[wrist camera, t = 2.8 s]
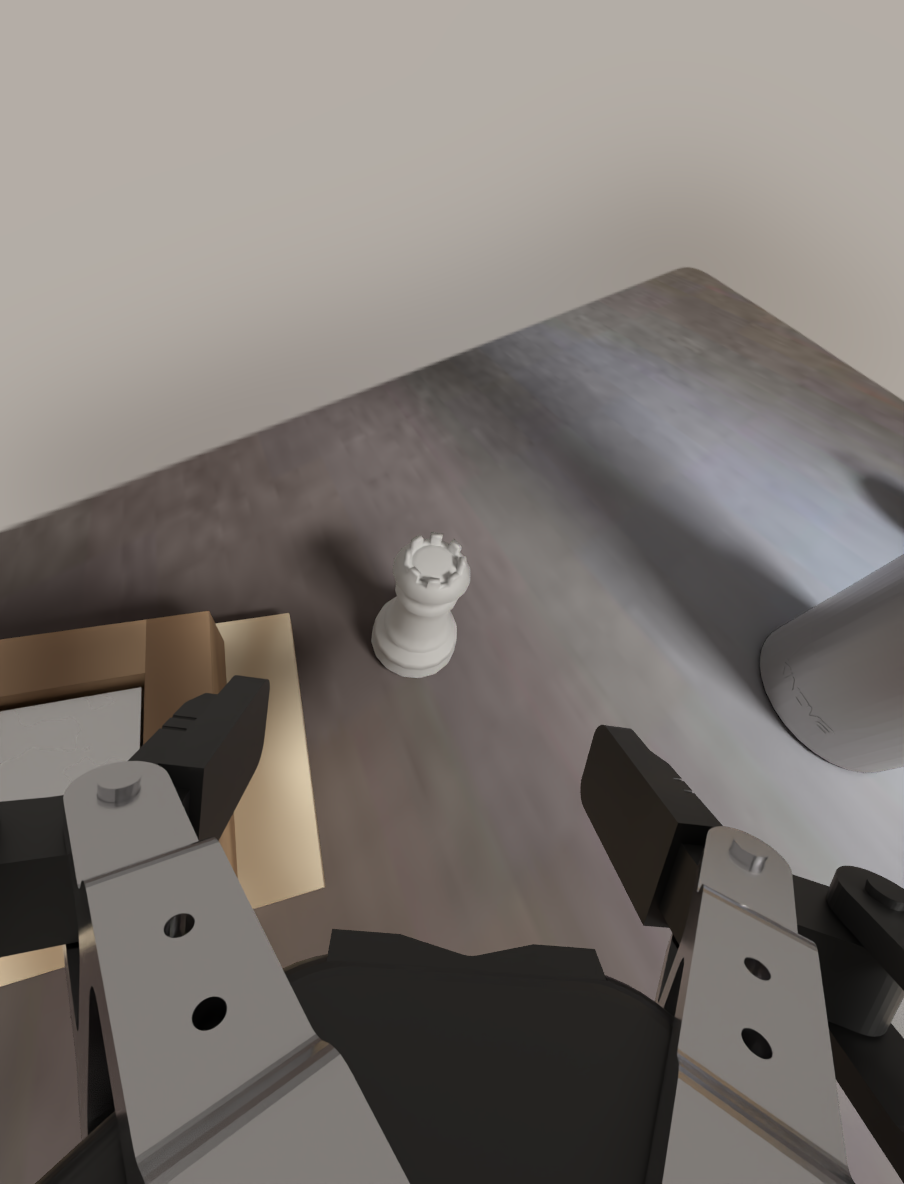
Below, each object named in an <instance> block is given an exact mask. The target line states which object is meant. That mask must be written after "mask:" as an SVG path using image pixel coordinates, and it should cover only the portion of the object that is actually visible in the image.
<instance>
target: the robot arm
mask: <svg viewBox="0 0 904 1184" xmlns="http://www.w3.org/2000/svg"><path fill="white" fill-rule="evenodd" d="M760 669H761V677H762V681H763V684H764V687H765V691H766V693H767V695H768V697H769V699H770V701H771V704H772V706H773V708H774V709H775V711H776V712H777V714H778V715H779V717H780V718H781V720H782V721H783V722H784V724H785V725H786V726H787V727H788V728H789V730H790V731H791V732H792V733H793V734H794V735H795V736H796V737H797V738H798V740H800V741H801V742H802V743H803V744H804V745H806V746H807V747H808V748H809V749H810V750H812V751H813V752H814V753H816V754H817V755H819V756H820V757H822V758H824V759H825V760H827V761H828V762H830V763H832V764H835V765H837V766H839V767H842V768H844V769H847V770H851V771H856V772H861V773H872V772H881V771H886V770H890V769H895V768H900V767H904V554H903V555H901V556H900V557H898V558H896V559H895V560H893V561H891V562H890V563H888V564H886V565H884V566H883V567H881V568H879V569H878V570H876V571H874V572H873V573H871V574H869V575H868V576H866V577H864V578H863V579H861V580H859V581H858V582H856V583H854V584H852V585H851V586H849V587H847V588H846V589H844V590H842V591H841V592H839V593H837V594H836V595H834V596H832V597H831V598H828V599H827V600H825V601H823V602H822V603H820V604H818V605H817V606H815V607H813V608H812V609H810V610H808V611H807V612H805V613H803V614H802V615H800V616H798V617H797V618H795V619H793V620H792V621H790V622H788V623H787V624H785V625H783V626H782V627H780V628H778V629H777V630H775V631H773V632H772V634H771V635H770V636H769V637H768V638H767V639H766V641H765V643H764V645H763V647H762V650H761V657H760ZM269 692H270V682H269V680H268V679H262V678H254V677H247V676H240V675H235V676H233V677H232V678H231V680H230V681H229V682H228V683H227V684H226V685H225V687H224V688H223V689H222V690H221V691H220V692H219V693H218V694H211V693H204V694H202V695H200V696H198V697H195V698H193V699H191V700H189V701H187V702H185V703H184V704H183V705H182V706H181V707H180V708H179V709H178V710H177V711H176V712H175V713H174V714H173V716H172V718H169V719H168V720H167V721H166V722H165V723H164V724H163V725H162V728H159V729H158V731H157V732H156V733H155V734H154V735H153V736H152V737H151V738H150V739H149V740H148V741H147V742H146V743H145V744H144V745H143V746H142V747H141V748H140V749H139V750H138V751H137V752H136V753H135V754H134V755H133V756H132V757H131V758H130V759H129V760H128V761H124V762H116V763H111V764H107V765H103V766H100V767H97V768H95V769H92V770H90V771H88V772H86V773H84V774H82V775H81V776H79V777H78V778H76V779H75V780H74V781H73V782H72V783H71V784H70V785H69V786H68V787H67V789H66V790H65V793H64V795H60V796H53V797H44V798H33V799H23V800H12V801H2V802H0V958H1V957H6V956H10V955H15V954H20V953H25V952H30V951H35V950H40V949H45V948H50V947H55V946H60V945H63V955H64V963H65V971H66V980H67V988H68V996H69V1004H70V1013H71V1021H72V1029H73V1037H74V1045H75V1054H76V1065H77V1081H78V1102H79V1117H80V1129H81V1140H82V1141H81V1142H80V1143H79V1144H78V1145H77V1146H76V1147H75V1148H74V1149H73V1150H71V1151H70V1152H69V1153H68V1154H67V1155H66V1156H65V1157H64V1158H63V1159H62V1160H61V1161H59V1162H58V1163H57V1164H56V1165H55V1166H54V1167H53V1168H52V1169H51V1170H50V1171H48V1172H47V1173H46V1174H45V1175H44V1176H43V1177H42V1178H41V1179H40V1180H39V1181H38V1182H36V1183H35V1184H855V1183H854V1181H853V1180H852V1178H851V1175H850V1172H849V1169H848V1164H847V1158H846V1151H845V1143H844V1136H843V1129H842V1122H841V1115H840V1107H839V1100H838V1093H837V1086H836V1080H837V1082H838V1083H839V1085H840V1086H841V1088H842V1089H843V1091H844V1092H845V1094H846V1095H847V1097H848V1099H849V1100H850V1102H851V1103H852V1105H853V1106H854V1108H855V1109H856V1111H857V1112H858V1114H859V1115H860V1117H861V1119H862V1120H863V1122H864V1123H865V1125H866V1126H867V1128H868V1129H869V1131H870V1132H871V1134H872V1135H873V1137H874V1138H875V1140H876V1142H877V1143H878V1145H879V1146H880V1148H881V1149H882V1151H883V1152H884V1154H885V1155H886V1157H887V1158H888V1160H889V1162H890V1163H891V1165H892V1166H893V1168H894V1169H895V1171H896V1172H897V1174H898V1175H899V1177H900V1178H901V1180H902V1182H903V1183H904V1039H903V1037H902V1036H901V1035H900V1034H899V1032H898V1031H897V1030H896V1029H895V1028H894V1026H893V1025H892V1024H891V1021H892V1019H893V1017H894V1015H895V1013H896V1011H897V1009H898V1008H899V1006H900V1004H901V1002H902V1000H903V998H904V889H903V888H901V887H900V886H898V885H897V884H895V883H893V882H891V881H890V880H888V879H886V878H884V877H882V876H880V875H878V874H875V873H873V872H870V871H868V870H865V869H862V868H858V867H854V866H841V867H839V868H838V869H837V870H836V873H835V875H834V877H833V880H832V882H831V884H830V887H829V886H826V885H823V884H820V883H817V882H814V881H810V880H807V879H804V878H801V877H798V876H795V875H792V871H791V869H790V867H789V865H788V863H787V862H786V861H785V859H784V858H783V857H782V856H781V855H780V854H779V853H778V852H777V851H776V850H774V849H773V848H772V847H770V846H769V845H768V844H766V843H765V842H763V841H762V840H760V839H758V838H756V837H754V836H752V835H750V834H748V833H746V832H744V831H741V830H738V829H735V828H731V827H725V826H722V824H721V823H720V822H719V821H718V820H717V819H716V818H715V816H714V815H713V814H712V813H711V812H710V811H709V810H708V808H707V807H706V806H705V805H704V804H703V803H702V801H701V800H700V799H699V798H698V797H697V796H696V795H695V793H692V790H691V789H690V788H689V787H688V785H687V784H686V783H685V782H684V781H681V777H680V776H679V775H678V774H677V773H676V772H675V770H674V769H673V768H672V767H671V766H670V765H669V764H668V763H667V762H665V761H664V760H662V759H661V758H660V757H658V756H657V755H655V754H654V753H653V752H651V751H650V750H649V749H648V748H647V747H646V745H645V744H644V743H643V742H642V741H641V739H640V738H639V737H638V736H637V735H636V733H635V732H634V731H633V730H632V729H629V728H621V727H614V726H606V725H600V726H599V727H598V728H597V729H596V731H595V733H594V736H593V740H592V744H591V747H590V751H589V754H588V758H587V762H586V765H585V769H584V772H583V776H582V780H581V800H582V804H583V807H584V809H585V811H586V813H587V815H588V817H589V819H590V821H591V823H592V825H593V827H594V829H595V831H596V833H597V835H598V837H599V839H600V841H601V843H602V845H603V847H604V849H605V851H606V852H607V854H608V856H609V858H610V860H611V862H612V864H613V866H614V868H615V870H616V872H617V874H618V876H619V878H620V880H621V882H622V884H623V886H624V888H625V890H626V892H627V894H628V896H629V898H630V900H631V902H632V904H633V906H634V908H635V910H636V912H637V914H638V916H639V918H640V920H641V922H642V924H643V926H655V927H667V928H670V929H671V931H672V935H671V938H670V941H669V944H668V946H667V949H666V954H665V958H664V963H663V967H662V971H661V976H660V980H659V985H658V989H657V993H656V998H655V1002H654V1001H653V1000H651V999H650V998H649V997H647V996H646V995H644V994H643V993H641V992H639V991H637V990H636V989H634V988H632V987H630V986H629V985H627V984H625V983H622V982H620V981H618V980H616V979H613V978H611V977H608V976H605V975H604V972H603V970H602V967H601V964H600V962H599V959H598V956H597V954H596V951H595V949H586V948H573V947H560V946H547V945H534V944H533V945H528V946H523V947H518V948H513V949H508V950H503V951H498V952H493V953H488V954H483V955H478V956H466V955H462V954H459V953H456V952H453V951H450V950H447V949H444V948H441V947H438V946H434V945H431V944H428V943H425V942H422V941H419V940H416V939H413V938H410V937H407V936H404V935H401V934H391V933H378V932H365V931H352V930H338V929H332V934H331V940H330V945H329V951H328V954H326V955H321V956H316V957H312V958H309V959H306V960H302V961H299V962H296V963H294V964H292V965H289V966H287V967H285V968H283V969H282V967H281V965H280V963H279V961H278V959H277V957H276V955H275V953H274V951H273V949H272V947H271V945H270V943H269V941H268V939H267V937H266V935H265V933H264V931H263V929H262V927H261V925H260V923H259V921H258V919H257V917H256V915H255V913H254V911H253V909H252V907H251V905H250V903H249V901H248V899H247V897H246V895H245V893H244V890H243V888H242V886H241V884H240V882H239V880H238V878H237V876H236V874H235V872H234V870H233V868H232V866H231V864H230V862H229V860H228V858H227V856H226V854H225V852H224V850H223V848H222V846H221V845H220V843H219V839H220V837H221V835H222V834H223V832H224V830H225V828H226V826H227V824H228V822H229V820H230V818H231V816H232V815H233V813H234V811H235V809H236V807H237V805H238V803H239V801H240V799H241V797H242V795H243V794H244V792H245V790H246V788H247V786H248V784H249V782H250V780H251V778H252V776H253V775H254V773H255V771H256V769H257V766H258V764H259V761H260V758H261V754H262V750H263V745H264V738H265V729H266V720H267V711H268V701H269Z"/></svg>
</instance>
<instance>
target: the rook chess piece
mask: <svg viewBox="0 0 904 1184" xmlns="http://www.w3.org/2000/svg"><path fill="white" fill-rule="evenodd" d="M442 536H443V534H441V533H434V532H431V536H430V539H423V538H422V536H421V535H418V536H416V537H415V538H413V539H412V540H411V542H410V543H409V544H408V545H406V546H405V547H403V548H401V550H400V551H399V553H398V554H397V556H396V557H395V559H394V565H393V575H394V577H395V580H396V588H395V592H396V595H397V596H396V597H395V598H393V599H392V600H390V601H389V602H387V603H386V604H385V605H384V606H383V607H382V609H381V611H380V612H379V614H378V615H377V617H376V618H375V624H374V626H373V631H372V639H371V642H372V645H373V648H374V652H375V655H376V657H377V658H378V659H379V660H380V661H381V663H382V664H383V665H384V666H385V667H386V668H387V669H388V670H390V671H392V672H394V673H396V674H398V675H400V676H403V677H413V678H422V677H425V676H428V675H432V674H435V673H437V672H438V671H439V670H440V669H442V668H443V667H444V666H445V665H446V664H448V662H449V660H450V658H451V656H452V654H453V652H454V650H455V644H456V638H457V626H456V623H455V621H454V618H453V616H452V613H451V611H450V610H451V609H452V608H453V607H454V605H455V603H456V601H457V599H458V598H459V597H460V596H462V595H463V594H464V593H465V591H466V589H467V587H468V585H469V583H470V567H469V565H468V563H467V561H466V557H464V556H463V555H462V554H461V553H460V551H461V549H462V546H461V545H460V544H459V543H458V542H457V541H456V540H455V539H453V540H452V541H451V542H450V544H448V543H446V542H444V541H442Z"/></svg>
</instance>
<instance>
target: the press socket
mask: <svg viewBox="0 0 904 1184" xmlns="http://www.w3.org/2000/svg"><path fill="white" fill-rule="evenodd" d="M235 675H240V676H247V677H254V678H262V679H268V680H269V682H270V692H269V701H268V711H267V720H266V729H265V738H264V745H263V750H262V754H261V758H260V761H259V764H258V766H257V769H256V771H255V773H254V775H253V776H252V778H251V780H250V782H249V784H248V786H247V788H246V790H245V792H244V794H243V795H242V797H241V799H240V801H239V803H238V805H237V807H236V809H235V811H234V813H233V815H232V816H231V818H230V820H229V822H228V824H227V826H226V828H225V830H224V832H223V834H222V835H221V837H220V839H219V843H220V845H221V846H222V848H223V850H224V852H225V854H226V856H227V858H228V860H229V862H230V864H231V866H232V868H233V870H234V872H235V874H236V876H237V878H238V880H239V882H240V884H241V886H242V888H243V890H244V893H245V895H246V897H247V899H248V901H249V903H250V905H251V907H252V909H255V908H259V907H262V906H265V905H268V904H272V903H275V902H278V901H282V900H285V899H288V898H291V897H295V896H298V895H301V894H304V893H308V892H311V891H314V890H317V889H321V888H324V887H326V886H325V878H324V871H323V863H322V855H321V847H320V840H319V832H318V824H317V817H316V809H315V801H314V793H313V786H312V778H311V770H310V762H309V755H308V747H307V739H306V731H305V724H304V716H303V708H302V700H301V693H300V685H299V677H298V669H297V662H296V654H295V646H294V639H293V631H292V624H291V620H290V615H289V613H285V614H278V615H271V616H265V617H258V618H251V619H244V620H237V621H230V622H223V623H216V624H215V622H214V620H213V618H212V616H211V614H210V612H209V611H204V612H197V613H190V614H182V615H175V616H168V617H161V618H153V619H146V620H139V621H132V622H124V623H117V624H110V625H102V626H95V627H88V628H81V629H73V630H66V631H59V632H52V633H44V634H37V635H30V636H22V637H15V638H8V639H1V640H0V711H6V710H11V709H17V708H23V707H29V706H35V705H40V704H46V703H52V702H58V701H64V700H69V699H75V698H81V697H87V696H93V695H98V694H104V693H110V692H116V691H122V690H127V689H133V688H139V687H142V688H143V689H144V690H145V692H144V733H143V745H144V744H145V743H146V742H147V741H148V740H149V739H150V738H151V737H152V736H153V735H154V734H155V733H156V732H157V731H158V729H159V728H162V725H163V724H164V723H165V722H166V721H167V720H168V719H169V718H172V716H173V714H174V713H175V712H176V711H177V710H178V709H179V708H180V707H181V706H182V705H183V704H184V703H185V702H187V701H189V700H191V699H193V698H195V697H198V696H200V695H202V694H204V693H211V694H218V693H219V692H220V691H221V690H222V689H223V688H224V687H225V685H226V684H227V683H228V682H229V681H230V680H231V678H232V677H233V676H235ZM63 967H65V963H64V955H63V945H60V946H55V947H50V948H45V949H40V950H35V951H30V952H25V953H20V954H15V955H10V956H6V957H1V958H0V987H1V986H4V985H8V984H11V983H14V982H17V981H21V980H24V979H27V978H30V977H34V976H37V975H40V974H43V973H47V972H50V971H53V970H56V969H60V968H63Z"/></svg>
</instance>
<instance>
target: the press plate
mask: <svg viewBox="0 0 904 1184" xmlns="http://www.w3.org/2000/svg"><path fill="white" fill-rule="evenodd" d="M144 692H145V690H144V689H143V688H142V687H139V688H133V689H127V690H122V691H116V692H110V693H104V694H98V695H93V696H87V697H81V698H75V699H69V700H64V701H58V702H52V703H46V704H40V705H35V706H29V707H23V708H17V709H11V710H6V711H0V802H2V801H12V800H23V799H33V798H44V797H53V796H60V795H64V793H65V790H66V789H67V787H68V786H69V785H70V784H71V783H72V782H73V781H74V780H75V779H76V778H78V777H79V776H81V775H82V774H84V773H86V772H88V771H90V770H92V769H95V768H97V767H100V766H103V765H107V764H111V763H116V762H124V761H128V760H129V759H130V758H131V757H132V756H133V755H134V754H135V753H136V752H137V751H138V750H139V749H140V748H141V747H142V746H143V733H144Z"/></svg>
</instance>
